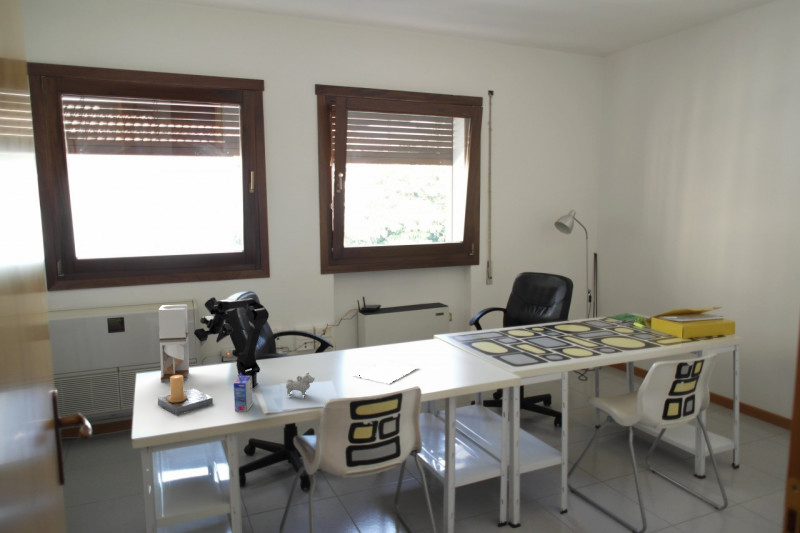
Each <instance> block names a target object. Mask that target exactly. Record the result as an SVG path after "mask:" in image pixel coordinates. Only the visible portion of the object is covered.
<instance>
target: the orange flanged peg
mask: <svg viewBox="0 0 800 533" xmlns="http://www.w3.org/2000/svg"><path fill="white" fill-rule="evenodd" d="M169 384H170V385H169V387H170V395H171V396H169V397H168V398H167V401H168V402H171V403H172V404H176V403H180V402H183V401H185V400H186V399H187V395H184V391H185V390H184V381H183V376H182V375H174V376H171V377H170V381H169Z"/></svg>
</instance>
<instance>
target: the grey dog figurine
mask: <svg viewBox="0 0 800 533" xmlns="http://www.w3.org/2000/svg"><path fill="white" fill-rule="evenodd" d="M315 380H316V377H313V376H312V375H310V372H306V373H305V374H304V375H302V376H301V375H298V376H296V380H293V379H290V378H289V379H287V381H286V385H285V388H286V392H287V395H288V394H290V392H291V391H292V392H293V391H297V392H298V391H299V392H301V396H302V395H305V392H306V393H307V390H309V389H310V387H311V384H312V383H313V384H314V381H315ZM290 395H291V394H290ZM305 396H306V395H305Z"/></svg>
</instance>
